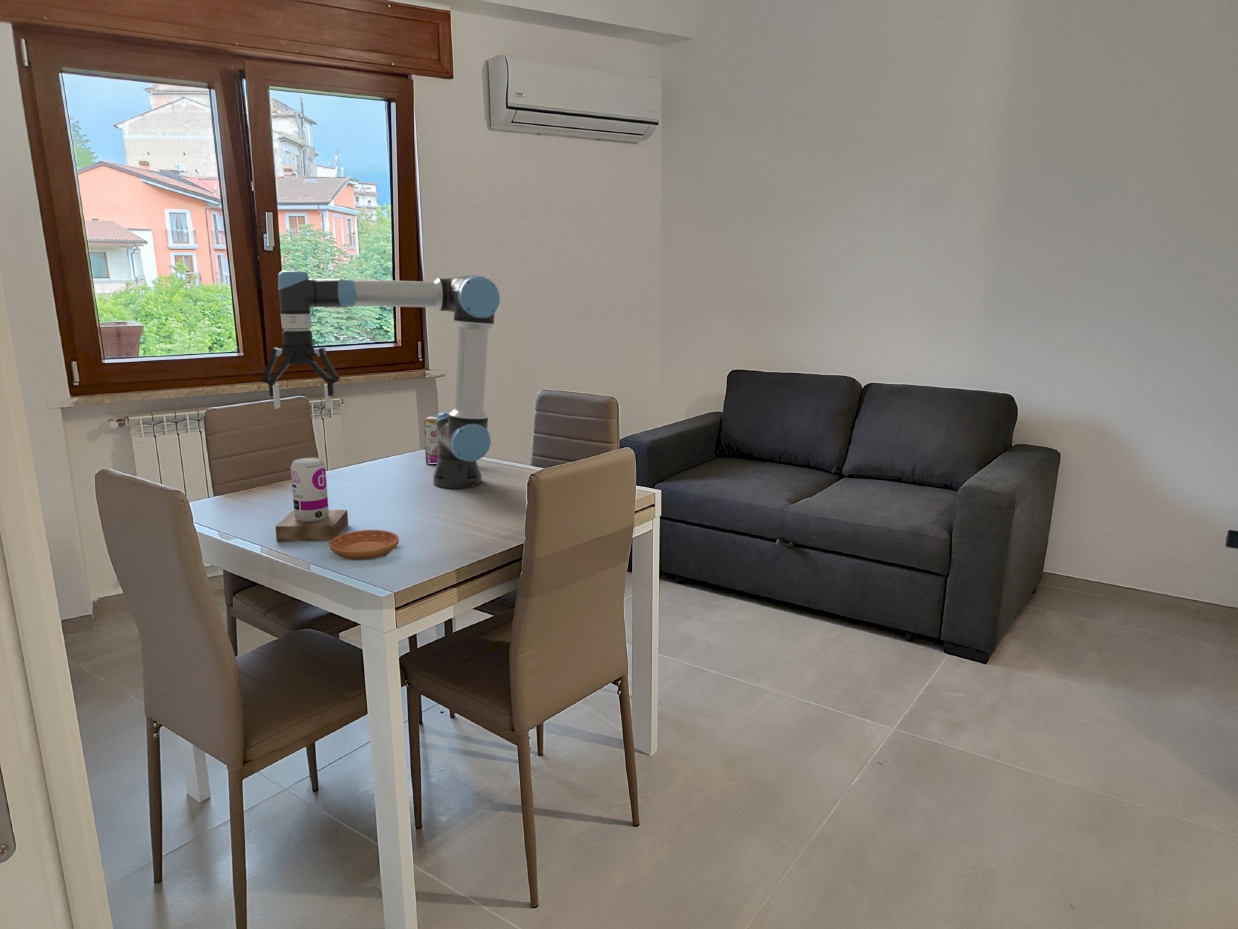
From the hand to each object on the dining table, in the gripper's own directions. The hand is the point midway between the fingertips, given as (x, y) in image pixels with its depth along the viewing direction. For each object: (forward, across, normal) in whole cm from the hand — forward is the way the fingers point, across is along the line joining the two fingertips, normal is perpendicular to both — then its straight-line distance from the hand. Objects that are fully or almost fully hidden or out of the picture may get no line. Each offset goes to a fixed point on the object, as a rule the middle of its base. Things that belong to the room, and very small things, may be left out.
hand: (303, 408), depth 225 cm
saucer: (+29, +23, -38) cm, 53 cm away
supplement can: (+25, +7, -23) cm, 35 cm away
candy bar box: (+29, +30, +56) cm, 70 cm away
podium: (+29, +7, -23) cm, 37 cm away
